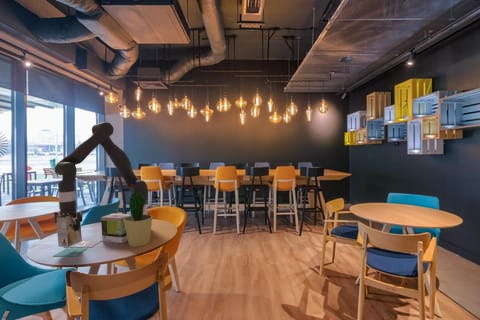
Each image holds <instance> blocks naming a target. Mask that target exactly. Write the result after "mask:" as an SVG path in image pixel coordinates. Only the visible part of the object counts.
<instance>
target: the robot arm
mask: <svg viewBox="0 0 480 320" xmlns="http://www.w3.org/2000/svg"><path fill="white" fill-rule="evenodd" d="M114 130H115V129H114V126H113V125H112V124H111V122H107V121H103V122H99V123H96V124H93V126H92V127H91V133H92V134H91V136H90V137H89V138H87V139H86V140H85V141H83V142H82V143H80V144H79V145H77V147H75V149H73V151H72V152H70V154H69V155H67V156H65V157H64V158H63V159H61V160H59V162H57V163H56V165H55V167H54V172H55V174H56V175H57V176H62V179H61V180H60V181H58V207H59V208H58V209H59V211H54V213H53V215H54V221H55V222H54V223H55V224H57V222H56V216H59V215H73V216H74V215H76V214H77V217H76V218H73V217H72V221H73V223H74V231H78V229H79V223H82V222H83V211H82V210H80V211H79V210H77V195H76V189H75V181H76V178H77V172H78V171H77V170H78V169H77V165H80V164H81V163H83V161H85V160H86V158H87V157H89V155H90V154H91V153H92V152H94V150H95V149H96V148H97V147H99V146H101V148H103V149H104V151H105V153H106V154H107V156H108V157H109V159H110V161H111V162H112V163H113V165H114V167H115V168H116V169H117V171H118V172H119V174H120V176H121V177H122V178H123V179H124V182H125V183H126V186H127V187H128V190H129V191H130V192H131V193H132V194H134V193H137V192H139V193H140V192H141V193H140V194H141V195H143V197H144V199H145V206H144V207H143V214H148V210H147V209H148V207H147V206H148V204H147V203H148V197H149V196H148V193H149V192H148V184H147V182H146V181H144V180H140V179H139V178H138V177H137V176H136V174H135V173H134V171H133V166H132V163H131V160H130V157H128V155H127V154H126V152H125V151H124V150H123V149H122V148H120V147H119V146H118V145H116V143H114V142H113V141H112V139H111V136H112V135H113V133H114ZM135 191H136V192H135ZM75 219H76V221H75Z"/></svg>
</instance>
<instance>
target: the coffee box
mask: <svg viewBox="0 0 480 320" xmlns="http://www.w3.org/2000/svg"><path fill="white" fill-rule="evenodd" d="M72 217H73V218H76V217H77V214H76V215H74V216H73V215H59V216H56V222H57V223H56V232H57V244H58V247H61V248H64V247H70V246H72V245H74V244H76V243H78V242H80V241H83V237H82V227H81V226H82V225H81V223H82V222H80V223H79V229H78V231H74V223H73V221H72ZM75 221H76V219H75Z"/></svg>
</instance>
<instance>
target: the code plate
mask: <svg viewBox="0 0 480 320" xmlns="http://www.w3.org/2000/svg"><path fill="white" fill-rule="evenodd" d="M101 242H102V240H82V241H80V242H78V243H76V244H74V245H72V246H70V247H63V248H64V249H66V248H93V247H94V246H97V245H98V244H99V243H101Z"/></svg>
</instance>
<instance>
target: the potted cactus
mask: <svg viewBox="0 0 480 320" xmlns="http://www.w3.org/2000/svg"><path fill="white" fill-rule="evenodd" d="M135 192H136V191H135ZM140 193H141V192H140ZM140 193H139V192H137V193H132V195H130V196H129V203H128V205H129V207H128V210H130V211H129V212H130V214H132V216H129V217H126V218H124V224H125V229H126V234H127V238H128V241H127V242H128V245H129V247H133V248H134V247H135V248H137V247H143V246H147V245H148V244H150V242H151V234H152V233H151V231H152V225H153V224H152V223H153V215H151V214H148V213H147V214H143V207H144V206H145V199H144V197H143V195H141V194H140Z"/></svg>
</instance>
